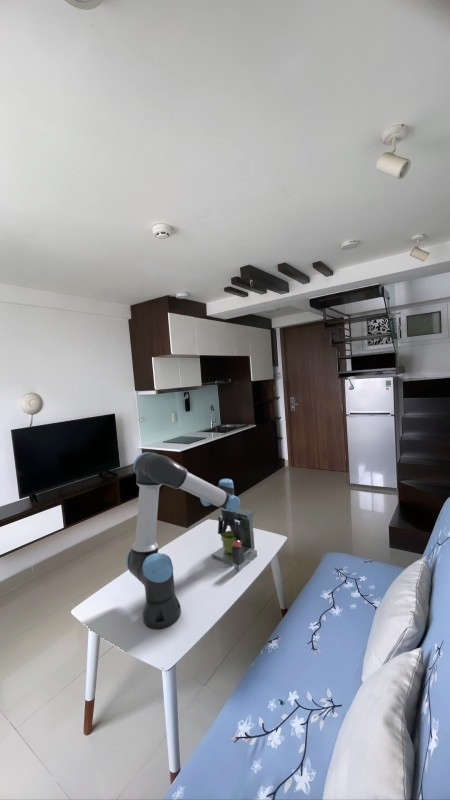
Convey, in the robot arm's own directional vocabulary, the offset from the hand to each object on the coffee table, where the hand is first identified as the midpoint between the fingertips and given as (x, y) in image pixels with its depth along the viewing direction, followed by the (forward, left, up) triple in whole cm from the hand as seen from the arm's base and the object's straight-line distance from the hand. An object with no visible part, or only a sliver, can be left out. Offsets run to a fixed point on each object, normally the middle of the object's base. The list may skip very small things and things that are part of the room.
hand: (231, 549), depth 172 cm
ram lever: (-8, -11, 0) cm, 14 cm away
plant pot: (0, 0, -1) cm, 1 cm away
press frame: (+1, -3, -3) cm, 4 cm away
